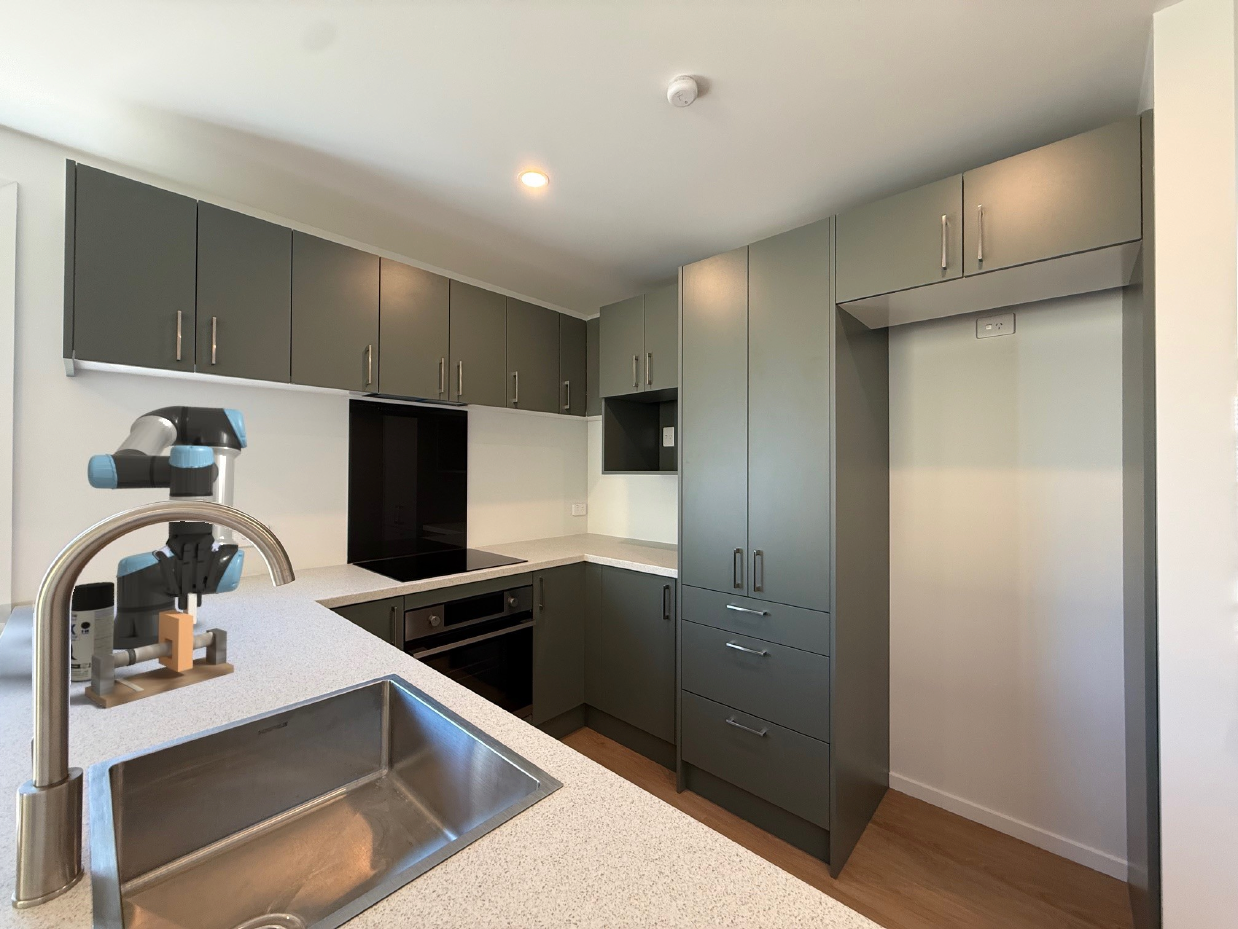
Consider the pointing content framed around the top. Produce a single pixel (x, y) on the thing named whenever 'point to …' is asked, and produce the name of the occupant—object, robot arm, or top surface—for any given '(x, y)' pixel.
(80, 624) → the spray can
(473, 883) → the top surface
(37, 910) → the top surface
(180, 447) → the robot arm
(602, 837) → the top surface
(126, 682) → the pipe stand
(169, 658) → the collar
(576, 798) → the top surface
